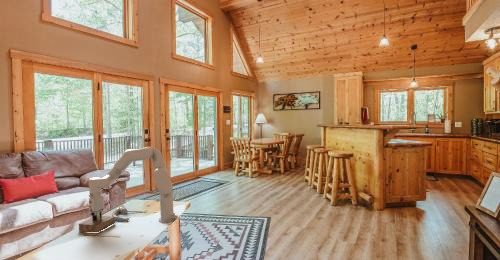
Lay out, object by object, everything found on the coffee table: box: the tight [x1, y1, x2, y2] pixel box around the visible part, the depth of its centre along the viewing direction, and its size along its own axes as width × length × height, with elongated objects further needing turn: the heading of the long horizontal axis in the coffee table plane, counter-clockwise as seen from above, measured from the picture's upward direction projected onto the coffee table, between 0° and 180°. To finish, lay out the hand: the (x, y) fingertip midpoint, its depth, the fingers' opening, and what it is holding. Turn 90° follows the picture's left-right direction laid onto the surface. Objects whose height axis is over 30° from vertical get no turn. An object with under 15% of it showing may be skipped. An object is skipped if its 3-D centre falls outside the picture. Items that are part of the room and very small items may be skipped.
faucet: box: [111, 204, 148, 222], centre depth 212 cm, size 5×28×28 cm
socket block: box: [78, 215, 116, 234], centre depth 188 cm, size 16×16×6 cm
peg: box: [94, 210, 100, 222], centre depth 187 cm, size 4×4×12 cm
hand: (97, 219), depth 187 cm, fingers closed on peg, 3 cm apart
